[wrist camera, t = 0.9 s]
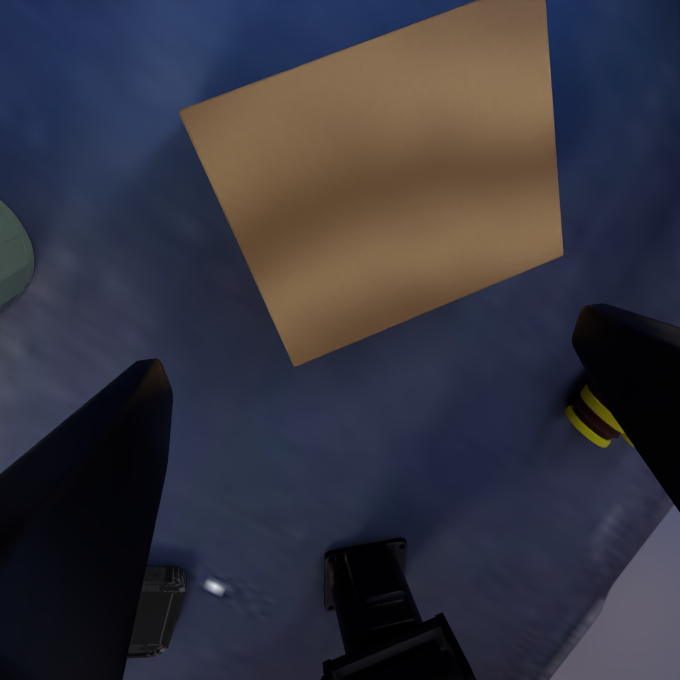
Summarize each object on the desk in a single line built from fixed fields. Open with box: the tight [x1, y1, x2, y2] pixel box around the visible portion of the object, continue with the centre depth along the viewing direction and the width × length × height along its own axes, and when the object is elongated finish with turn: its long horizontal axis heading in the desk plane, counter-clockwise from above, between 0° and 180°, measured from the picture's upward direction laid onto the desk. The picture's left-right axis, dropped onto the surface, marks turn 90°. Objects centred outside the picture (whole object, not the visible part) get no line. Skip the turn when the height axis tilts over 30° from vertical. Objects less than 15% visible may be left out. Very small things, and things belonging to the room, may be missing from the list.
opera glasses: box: [565, 382, 635, 448], centre depth 30 cm, size 10×5×5 cm, turn 69°
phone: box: [127, 566, 187, 658], centre depth 27 cm, size 8×1×15 cm
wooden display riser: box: [179, 0, 563, 367], centre depth 19 cm, size 11×14×5 cm
